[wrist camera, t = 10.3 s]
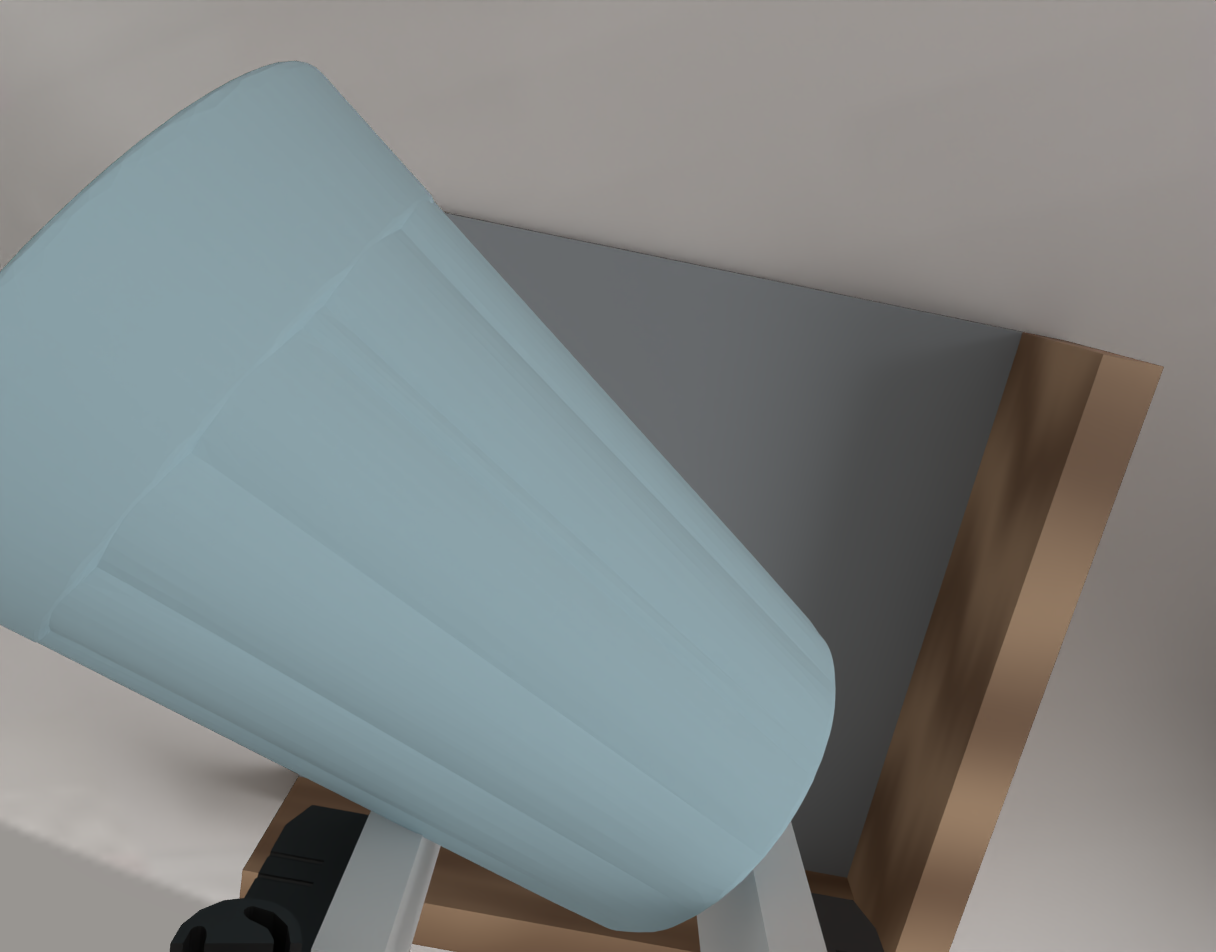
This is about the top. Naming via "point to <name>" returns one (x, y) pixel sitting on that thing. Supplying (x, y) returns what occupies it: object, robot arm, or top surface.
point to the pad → (793, 453)
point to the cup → (386, 519)
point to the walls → (938, 691)
